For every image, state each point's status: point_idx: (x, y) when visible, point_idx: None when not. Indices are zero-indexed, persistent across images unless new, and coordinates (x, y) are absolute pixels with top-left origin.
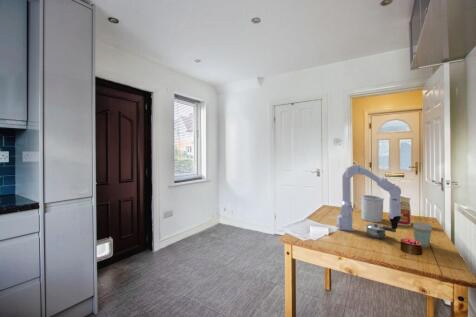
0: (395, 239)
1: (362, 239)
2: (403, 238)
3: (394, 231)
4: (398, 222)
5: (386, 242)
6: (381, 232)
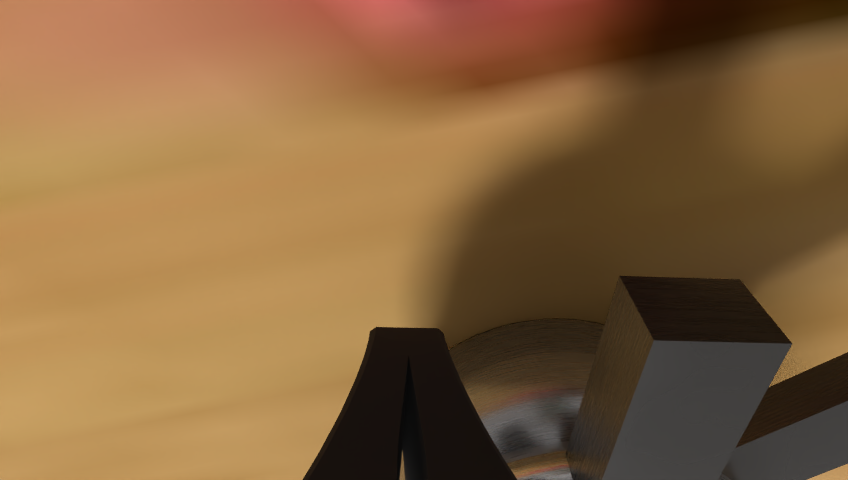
0: (514, 178)
1: (814, 476)
2: (316, 71)
3: (747, 306)
4: (334, 476)
5: (795, 250)
6: (793, 446)
